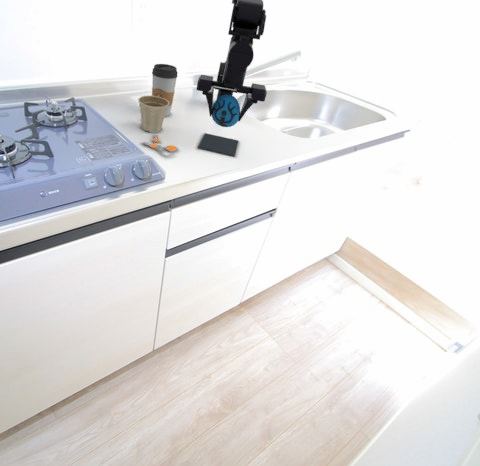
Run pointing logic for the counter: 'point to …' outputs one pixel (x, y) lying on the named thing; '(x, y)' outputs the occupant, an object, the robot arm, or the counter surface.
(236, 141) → the mat
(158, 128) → the flower pot
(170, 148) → the key chain
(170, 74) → the coffee cup
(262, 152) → the counter surface
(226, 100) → the ornament
